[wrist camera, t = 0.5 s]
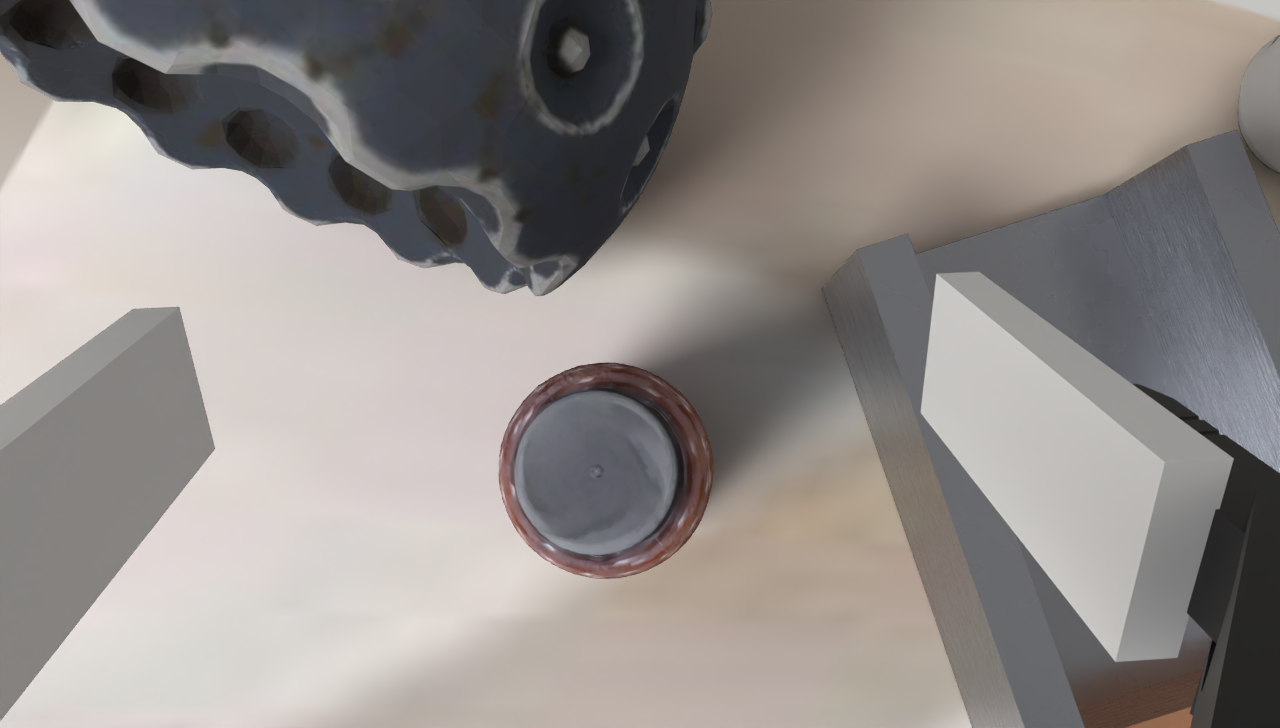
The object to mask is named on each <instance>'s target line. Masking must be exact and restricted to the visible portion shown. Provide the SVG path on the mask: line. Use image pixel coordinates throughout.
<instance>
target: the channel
mask: <svg viewBox="0 0 1280 728" xmlns="http://www.w3.org/2000/svg"><path fill="white" fill-rule="evenodd" d="M961 272H980V273H981V274H983V275H984V276H985V277H987V278H988V279H990V280H991V281H992V282H994V283H995V284H996V285H998V286H999V287H1001V288H1002V289H1003V290H1005V291H1006V292H1007V293H1009V294H1010V295H1011V296H1013V297H1014V298H1016V299H1017V300H1018V301H1020V302H1021V303H1022V304H1024V305H1025V306H1026V307H1028V308H1029V309H1031V310H1032V311H1033V312H1035V313H1036V314H1037V315H1039V316H1040V317H1041V318H1043V319H1044V320H1046V321H1047V322H1048V323H1050V324H1051V325H1052V326H1054V327H1055V328H1056V329H1058V330H1059V331H1061V332H1062V333H1063V334H1065V335H1066V336H1067V337H1069V338H1070V339H1071V340H1073V341H1074V342H1076V343H1077V344H1078V345H1080V346H1081V347H1082V348H1084V349H1085V350H1086V351H1088V352H1089V353H1091V354H1092V355H1093V356H1095V357H1096V358H1097V359H1099V360H1100V361H1101V362H1103V363H1104V364H1106V365H1107V366H1108V367H1110V368H1111V369H1112V370H1114V371H1115V372H1116V373H1118V374H1119V375H1121V376H1122V377H1123V378H1125V379H1126V380H1127V381H1129V382H1130V383H1131V384H1140V385H1143V386H1145V387H1147V388H1150V389H1152V390H1155V391H1157V392H1159V393H1162V394H1164V395H1167V396H1169V397H1172V398H1174V399H1175V400H1177V401H1178V402H1179V403H1181V404H1182V405H1184V406H1185V407H1187V408H1188V409H1189V410H1191V411H1192V412H1194V413H1195V414H1196V415H1198V416H1199V420H1205V421H1206V422H1208V423H1209V424H1211V425H1212V426H1213V427H1215V428H1216V429H1218V430H1219V434H1220V435H1222V434H1225V435H1226V436H1228V437H1229V438H1230V439H1232V440H1233V441H1235V442H1236V443H1238V444H1239V445H1240V446H1242V447H1243V448H1245V449H1246V450H1247V451H1249V452H1250V453H1252V454H1253V455H1255V456H1256V457H1257V458H1259V459H1260V460H1262V461H1263V462H1264V463H1266V464H1267V465H1269V466H1270V467H1272V468H1273V469H1274V470H1276V471H1277V472H1280V234H1279V232H1278V229H1277V227H1276V224H1275V222H1274V219H1273V217H1272V214H1271V212H1270V209H1269V207H1268V205H1267V202H1266V200H1265V197H1264V195H1263V192H1262V190H1261V187H1260V185H1259V182H1258V180H1257V178H1256V175H1255V173H1254V170H1253V168H1252V165H1251V163H1250V160H1249V158H1248V155H1247V153H1246V151H1245V148H1244V146H1243V143H1242V141H1241V138H1240V136H1239V133H1238V131H1237V130H1234V131H1231V132H1228V133H1224V134H1221V135H1218V136H1215V137H1212V138H1209V139H1205V140H1202V141H1199V142H1196V143H1193V144H1190V145H1187V146H1185V147H1183V148H1181V149H1180V150H1178V151H1176V152H1175V153H1173V154H1171V155H1170V156H1168V157H1166V158H1165V159H1163V160H1161V161H1160V162H1158V163H1156V164H1155V165H1153V166H1151V167H1150V168H1148V169H1146V170H1145V171H1143V172H1141V173H1140V174H1138V175H1136V176H1135V177H1133V178H1131V179H1130V180H1128V181H1126V182H1125V183H1123V184H1121V185H1120V186H1118V187H1116V188H1115V189H1113V190H1111V191H1110V192H1108V193H1106V194H1105V195H1102V196H1099V197H1096V198H1092V199H1089V200H1086V201H1083V202H1080V203H1077V204H1073V205H1070V206H1067V207H1064V208H1061V209H1058V210H1054V211H1051V212H1048V213H1045V214H1042V215H1039V216H1035V217H1032V218H1029V219H1026V220H1023V221H1020V222H1016V223H1013V224H1010V225H1007V226H1004V227H1001V228H997V229H994V230H991V231H988V232H985V233H982V234H978V235H975V236H972V237H969V238H966V239H963V240H959V241H956V242H953V243H950V244H947V245H944V246H940V247H937V248H934V249H931V250H928V251H925V252H921V253H918V254H915V252H914V249H913V246H912V243H911V240H910V238H909V235H908V234H905V235H902V236H899V237H895V238H892V239H889V240H886V241H883V242H880V243H876V244H873V245H870V246H867V247H864V248H861V249H857V251H856V252H855V253H854V254H853V255H852V256H851V257H850V258H849V259H848V260H847V261H846V263H845V264H844V265H843V266H842V267H841V268H840V269H839V270H838V271H837V272H836V273H835V275H834V276H833V277H832V278H831V279H830V280H829V281H828V282H827V283H826V284H825V286H824V287H823V288H822V291H823V294H824V297H825V299H826V302H827V305H828V308H829V311H830V314H831V317H832V320H833V323H834V326H835V329H836V331H837V334H838V337H839V340H840V343H841V346H842V349H843V352H844V355H845V358H846V361H847V364H848V366H849V369H850V372H851V375H852V378H853V381H854V384H855V387H856V390H857V393H858V396H859V398H860V401H861V404H862V407H863V410H864V413H865V416H866V419H867V422H868V425H869V428H870V431H871V433H872V436H873V439H874V442H875V445H876V448H877V451H878V454H879V457H880V460H881V463H882V465H883V468H884V471H885V474H886V477H887V480H888V483H889V486H890V489H891V492H892V495H893V498H894V500H895V503H896V506H897V509H898V512H899V515H900V518H901V521H902V524H903V527H904V530H905V532H906V535H907V538H908V541H909V544H910V547H911V550H912V553H913V556H914V559H915V562H916V565H917V567H918V570H919V573H920V576H921V579H922V582H923V585H924V588H925V591H926V594H927V597H928V599H929V602H930V605H931V608H932V611H933V614H934V617H935V620H936V623H937V626H938V629H939V632H940V634H941V637H942V640H943V643H944V646H945V649H946V652H947V655H948V658H949V661H950V664H951V666H952V669H953V672H954V675H955V678H956V681H957V684H958V687H959V690H960V693H961V696H962V699H963V701H964V704H965V707H966V710H967V713H968V716H969V719H970V722H971V725H972V728H1190V726H1191V722H1192V718H1193V715H1191V714H1190V710H1191V707H1192V704H1193V700H1194V697H1195V694H1196V690H1197V687H1198V684H1199V681H1200V677H1201V674H1202V671H1203V667H1204V664H1205V661H1206V657H1207V654H1208V651H1209V647H1210V644H1211V641H1212V639H1211V638H1210V637H1209V636H1208V635H1207V634H1206V632H1205V631H1204V630H1203V629H1202V628H1201V627H1200V626H1199V625H1198V624H1197V623H1196V622H1195V621H1194V620H1193V619H1192V618H1191V617H1190V616H1189V619H1188V622H1187V626H1186V629H1185V633H1184V636H1183V640H1182V643H1181V647H1180V650H1179V654H1178V657H1177V658H1168V659H1153V660H1137V661H1122V662H1115V661H1114V659H1113V658H1112V657H1111V656H1110V654H1109V653H1108V652H1107V650H1106V649H1105V648H1104V647H1103V645H1102V644H1101V643H1100V642H1099V640H1098V639H1097V638H1096V636H1095V635H1094V634H1093V633H1092V631H1091V630H1090V629H1089V627H1088V626H1087V625H1086V624H1085V622H1084V621H1083V620H1082V618H1081V617H1080V616H1079V615H1078V613H1077V612H1076V611H1075V610H1074V608H1073V607H1072V606H1071V604H1070V603H1069V602H1068V601H1067V599H1066V598H1065V597H1064V595H1063V594H1062V593H1061V592H1060V590H1059V589H1058V588H1057V587H1056V585H1055V584H1054V583H1053V581H1052V580H1051V579H1050V578H1049V576H1048V575H1047V574H1046V572H1045V571H1044V570H1043V569H1042V567H1041V566H1040V565H1039V564H1038V562H1037V561H1036V560H1035V558H1034V557H1033V556H1032V555H1031V553H1030V552H1029V551H1028V549H1027V548H1026V547H1025V546H1024V544H1023V543H1022V542H1021V541H1020V539H1019V538H1018V537H1017V535H1016V534H1015V533H1014V532H1013V530H1012V529H1011V528H1010V526H1009V525H1008V524H1007V523H1006V521H1005V520H1004V519H1003V518H1002V516H1001V515H1000V514H999V512H998V511H997V510H996V509H995V507H994V506H993V505H992V503H991V502H990V501H989V500H988V498H987V497H986V496H985V495H984V493H983V492H982V491H981V489H980V488H979V487H978V486H977V484H976V483H975V482H974V480H973V479H972V478H971V477H970V475H969V474H968V473H967V472H966V470H965V469H964V468H963V466H962V465H961V464H960V463H959V461H958V460H957V459H956V457H955V456H954V455H953V454H952V452H951V451H950V450H949V449H948V447H947V446H946V445H945V443H944V442H943V441H942V440H941V438H940V437H939V436H938V434H937V433H936V432H935V431H934V429H933V428H932V427H931V425H930V424H929V423H928V422H927V420H926V419H925V418H924V417H923V415H922V414H921V413H920V412H921V404H922V395H923V386H924V378H925V369H926V360H927V352H928V343H929V334H930V326H931V317H932V308H933V300H934V291H935V282H936V274H938V273H961Z"/></svg>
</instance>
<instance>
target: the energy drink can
mask: <svg viewBox="0 0 1280 728" xmlns="http://www.w3.org/2000/svg"><path fill="white" fill-rule="evenodd" d="M1238 119H1239V126H1240V129H1241V132H1242V135H1243V138H1244V140H1245V141H1246V143H1247V145H1248V147H1249V148H1250V150H1251V151H1252V152H1253V153H1254V154H1255V155H1256V157H1257V158H1258V159H1259V160H1261V161H1262V162H1263V163H1264V164H1265V165H1267V166H1268V167H1269V168H1271V169H1273V170H1275V171H1277V172H1279V173H1280V35H1279V36H1277V37H1276V38H1274V39H1273V40H1272V41H1270V42H1269V43H1268V44H1266V45H1265V46H1263V47H1262V49H1261V50H1260V51H1259V52H1258V53H1257V54H1256V55H1255V57H1254V58H1253V59H1252V61H1251V63H1250V64H1249V66H1248V68H1247V70H1246V71H1245V74H1244V78H1243V81H1242V84H1241V89H1240V98H1239V104H1238Z"/></svg>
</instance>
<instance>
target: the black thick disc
mask: <svg viewBox="0 0 1280 728" xmlns="http://www.w3.org/2000/svg"><path fill="white" fill-rule="evenodd" d="M711 17H712V10H711V3H710V1H709V0H0V52H1V53H2V55H3V56H4V57H5V59H6V61H7V62H8V64H9V65H10V67H11V68H12V70H13V72H14V73H15V74H16V76H17V78H18V79H19V81H20V82H21V83H23V84H25V85H27V86H29V87H31V88H33V89H35V90H36V91H38V92H40V93H42V94H44V95H46V96H48V97H50V98H52V99H54V100H55V101H63V102H96V103H100V104H103V105H107V106H111V107H114V108H117V109H119V110H120V111H122V112H124V113H125V114H127V115H128V116H129V117H130V118H131V119H132V120H133V121H134V122H135V123H136V124H137V125H138V126H139V127H140V128H141V130H142V131H143V133H144V134H145V136H146V137H147V139H148V140H149V141H150V143H151V144H152V146H153V147H154V149H155V150H156V151H157V152H158V154H160V155H162V156H165V157H167V158H169V159H171V160H173V161H175V162H178V163H180V164H182V165H184V166H186V167H188V168H191V169H207V168H227V169H233V170H239V171H243V172H245V173H247V174H249V175H251V176H253V177H255V178H257V179H258V180H259V181H261V182H262V183H263V184H264V185H265V186H267V187H268V188H269V189H270V191H271V192H272V194H273V195H274V196H275V198H276V199H277V201H278V202H279V204H280V205H281V207H282V208H283V209H284V210H285V211H287V212H288V213H290V214H292V215H294V216H296V217H298V218H301V219H303V220H305V221H307V222H310V223H312V224H314V225H316V226H319V225H327V224H336V223H344V222H346V223H354V224H363V225H365V226H367V227H369V228H370V229H372V230H373V231H375V232H376V233H377V234H378V235H379V236H380V237H381V239H382V240H383V241H384V242H385V243H386V245H387V246H388V247H389V248H390V249H391V251H392V252H393V253H394V254H395V256H396V257H397V258H398V259H399V260H402V261H405V262H407V263H410V264H413V265H416V266H419V267H422V268H430V267H435V266H440V265H445V264H451V263H465V264H466V265H468V266H469V267H470V268H471V269H472V270H473V272H474V273H475V275H476V276H477V278H478V279H479V280H480V282H481V283H482V285H483V286H484V287H485V288H487V289H489V290H491V291H495V292H498V293H502V294H506V293H509V292H511V291H514V290H517V289H519V288H522V287H524V286H527V285H528V287H529V289H530V290H531V291H532V293H533V294H534V295H535V296H543V295H546V294H548V293H550V292H552V291H553V290H555V289H556V288H558V287H559V286H560V285H562V284H563V283H564V282H565V281H566V280H568V279H569V278H570V277H571V276H572V275H573V274H575V273H576V272H577V271H578V270H579V269H581V268H582V267H583V266H584V265H585V264H586V263H587V262H588V260H589V259H590V258H591V257H592V256H593V255H594V254H595V253H596V252H597V250H598V249H599V248H600V247H601V246H602V245H603V244H604V243H605V242H606V240H607V239H608V238H609V237H610V236H611V235H612V234H613V233H614V232H615V230H616V229H617V228H618V226H619V225H620V224H621V222H622V221H623V220H624V218H625V217H626V215H627V214H628V213H629V211H630V210H631V209H632V207H633V206H634V204H635V203H636V202H637V200H638V198H639V196H640V195H641V193H642V191H643V190H644V188H645V186H646V184H647V183H648V181H649V179H650V177H651V176H652V174H653V172H654V171H655V168H656V166H657V164H658V162H659V160H660V158H661V155H662V153H663V151H664V149H665V147H666V145H667V142H668V139H669V137H670V134H671V131H672V128H673V126H674V123H675V120H676V117H677V115H678V112H679V108H680V105H681V102H682V98H683V95H684V91H685V88H686V85H687V81H688V77H689V72H690V68H691V63H692V58H693V55H694V53H695V52H696V51H697V49H698V48H699V47H700V45H701V44H702V43H703V41H704V40H705V39H706V37H707V33H708V29H709V25H710V21H711Z"/></svg>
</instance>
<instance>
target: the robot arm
mask: <svg viewBox="0 0 1280 728" xmlns="http://www.w3.org/2000/svg"><path fill="white" fill-rule="evenodd" d="M920 413H921V414H922V415H923V417H924V418H925V419H926V420H927V422H928V423H929V424H930V425H931V427H932V428H933V429H934V431H935V432H936V433H937V434H938V436H939V437H940V438H941V440H942V441H943V442H944V443H945V445H946V446H947V447H948V449H949V450H950V451H951V452H952V454H953V455H954V456H955V457H956V459H957V460H958V461H959V463H960V464H961V465H962V466H963V468H964V469H965V470H966V472H967V473H968V474H969V475H970V477H971V478H972V479H973V480H974V482H975V483H976V484H977V486H978V487H979V488H980V489H981V491H982V492H983V493H984V495H985V496H986V497H987V498H988V500H989V501H990V502H991V503H992V505H993V506H994V507H995V509H996V510H997V511H998V512H999V514H1000V515H1001V516H1002V518H1003V519H1004V520H1005V521H1006V523H1007V524H1008V525H1009V526H1010V528H1011V529H1012V530H1013V532H1014V533H1015V534H1016V535H1017V537H1018V538H1019V539H1020V541H1021V542H1022V543H1023V544H1024V546H1025V547H1026V548H1027V549H1028V551H1029V552H1030V553H1031V555H1032V556H1033V557H1034V558H1035V560H1036V561H1037V562H1038V564H1039V565H1040V566H1041V567H1042V569H1043V570H1044V571H1045V572H1046V574H1047V575H1048V576H1049V578H1050V579H1051V580H1052V581H1053V583H1054V584H1055V585H1056V587H1057V588H1058V589H1059V590H1060V592H1061V593H1062V594H1063V595H1064V597H1065V598H1066V599H1067V601H1068V602H1069V603H1070V604H1071V606H1072V607H1073V608H1074V610H1075V611H1076V612H1077V613H1078V615H1079V616H1080V617H1081V618H1082V620H1083V621H1084V622H1085V624H1086V625H1087V626H1088V627H1089V629H1090V630H1091V631H1092V633H1093V634H1094V635H1095V636H1096V638H1097V639H1098V640H1099V642H1100V643H1101V644H1102V645H1103V647H1104V648H1105V649H1106V650H1107V652H1108V653H1109V654H1110V656H1111V657H1112V658H1113V659H1114V661H1115V662H1122V661H1137V660H1153V659H1168V658H1177V657H1178V654H1179V650H1180V647H1181V643H1182V640H1183V636H1184V633H1185V629H1186V626H1187V622H1188V619H1189V616H1190V617H1191V618H1192V619H1193V620H1194V621H1195V622H1196V623H1197V624H1198V625H1199V626H1200V627H1201V628H1202V629H1203V630H1204V631H1205V632H1206V634H1207V635H1208V636H1209V637H1210V638H1211V639H1212V641H1211V644H1210V647H1209V651H1208V654H1207V657H1206V661H1205V664H1204V667H1203V671H1202V674H1201V677H1200V681H1199V684H1198V687H1197V690H1196V694H1195V697H1194V700H1193V704H1192V707H1191V710H1190V714H1191V715H1193V718H1192V722H1191V726H1190V728H1280V472H1277V471H1276V470H1274V469H1273V468H1272V467H1270V466H1269V465H1267V464H1266V463H1264V462H1263V461H1262V460H1260V459H1259V458H1257V457H1256V456H1255V455H1253V454H1252V453H1250V452H1249V451H1247V450H1246V449H1245V448H1243V447H1242V446H1240V445H1239V444H1238V443H1236V442H1235V441H1233V440H1232V439H1230V438H1229V437H1228V436H1226V435H1225V434H1222V435H1220V434H1219V430H1218V429H1216V428H1215V427H1213V426H1212V425H1211V424H1209V423H1208V422H1206V421H1205V420H1199V416H1198V415H1196V414H1195V413H1194V412H1192V411H1191V410H1189V409H1188V408H1187V407H1185V406H1184V405H1182V404H1181V403H1179V402H1178V401H1177V400H1175V399H1174V398H1172V397H1169V396H1167V395H1164V394H1162V393H1159V392H1157V391H1155V390H1152V389H1150V388H1147V387H1145V386H1143V385H1140V384H1131V383H1130V382H1129V381H1127V380H1126V379H1125V378H1123V377H1122V376H1121V375H1119V374H1118V373H1116V372H1115V371H1114V370H1112V369H1111V368H1110V367H1108V366H1107V365H1106V364H1104V363H1103V362H1101V361H1100V360H1099V359H1097V358H1096V357H1095V356H1093V355H1092V354H1091V353H1089V352H1088V351H1086V350H1085V349H1084V348H1082V347H1081V346H1080V345H1078V344H1077V343H1076V342H1074V341H1073V340H1071V339H1070V338H1069V337H1067V336H1066V335H1065V334H1063V333H1062V332H1061V331H1059V330H1058V329H1056V328H1055V327H1054V326H1052V325H1051V324H1050V323H1048V322H1047V321H1046V320H1044V319H1043V318H1041V317H1040V316H1039V315H1037V314H1036V313H1035V312H1033V311H1032V310H1031V309H1029V308H1028V307H1026V306H1025V305H1024V304H1022V303H1021V302H1020V301H1018V300H1017V299H1016V298H1014V297H1013V296H1011V295H1010V294H1009V293H1007V292H1006V291H1005V290H1003V289H1002V288H1001V287H999V286H998V285H996V284H995V283H994V282H992V281H991V280H990V279H988V278H987V277H985V276H984V275H983V274H981V273H980V272H961V273H938V274H936V282H935V291H934V300H933V308H932V317H931V326H930V334H929V343H928V352H927V360H926V369H925V378H924V386H923V395H922V404H921V412H920ZM214 449H215V447H214V443H213V439H212V435H211V431H210V427H209V423H208V419H207V415H206V411H205V407H204V403H203V399H202V395H201V391H200V387H199V383H198V379H197V375H196V372H195V368H194V364H193V360H192V356H191V352H190V348H189V344H188V340H187V336H186V332H185V328H184V324H183V320H182V316H181V312H180V308H179V307H167V308H144V309H132V310H131V311H130V312H128V313H127V314H126V315H124V316H123V317H121V318H120V319H119V320H117V321H116V322H115V323H113V324H112V325H110V326H109V327H108V328H106V329H105V330H104V331H102V332H101V333H99V334H98V335H97V336H95V337H94V338H93V339H91V340H90V341H88V342H87V343H86V344H84V345H83V346H82V347H80V348H79V349H77V350H76V351H75V352H73V353H72V354H71V355H69V356H68V357H66V358H65V359H64V360H62V361H61V362H60V363H58V364H57V365H55V366H54V367H53V368H51V369H50V370H49V371H47V372H46V373H44V374H43V375H42V376H40V377H39V378H38V379H36V380H35V381H33V382H32V383H31V384H29V385H28V386H27V387H25V388H24V389H22V390H21V391H20V392H18V393H17V394H16V395H14V396H13V397H11V398H10V399H9V400H7V401H6V402H5V403H3V404H2V405H0V721H1V720H2V718H3V717H4V716H5V715H6V713H7V712H8V711H9V710H10V708H11V707H12V706H13V704H14V703H15V702H16V701H17V699H18V698H19V697H20V696H21V694H22V693H23V692H24V691H25V689H26V688H27V687H28V685H29V684H30V683H31V682H32V680H33V679H34V678H35V677H36V675H37V674H38V673H39V671H40V670H41V669H42V668H43V666H44V665H45V664H46V663H47V661H48V660H49V659H50V658H51V656H52V655H53V654H54V652H55V651H56V650H57V649H58V647H59V646H60V645H61V644H62V642H63V641H64V640H65V638H66V637H67V636H68V635H69V633H70V632H71V631H72V630H73V628H74V627H75V626H76V625H77V623H78V622H79V621H80V619H81V618H82V617H83V616H84V614H85V613H86V612H87V611H88V609H89V608H90V607H91V606H92V604H93V603H94V602H95V600H96V599H97V598H98V597H99V595H100V594H101V593H102V592H103V590H104V589H105V588H106V586H107V585H108V584H109V583H110V581H111V580H112V579H113V578H114V576H115V575H116V574H117V573H118V571H119V570H120V569H121V567H122V566H123V565H124V564H125V562H126V561H127V560H128V559H129V557H130V556H131V555H132V553H133V552H134V551H135V550H136V548H137V547H138V546H139V545H140V543H141V542H142V541H143V540H144V538H145V537H146V536H147V534H148V533H149V532H150V531H151V529H152V528H153V527H154V526H155V524H156V523H157V522H158V521H159V519H160V518H161V517H162V515H163V514H164V513H165V512H166V510H167V509H168V508H169V507H170V505H171V504H172V503H173V501H174V500H175V499H176V498H177V496H178V495H179V494H180V493H181V491H182V490H183V489H184V488H185V486H186V485H187V484H188V482H189V481H190V480H191V479H192V477H193V476H194V475H195V474H196V472H197V471H198V470H199V468H200V467H201V466H202V465H203V463H204V462H205V461H206V460H207V458H208V457H209V456H210V455H211V453H212V452H213V451H214Z"/></svg>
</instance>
